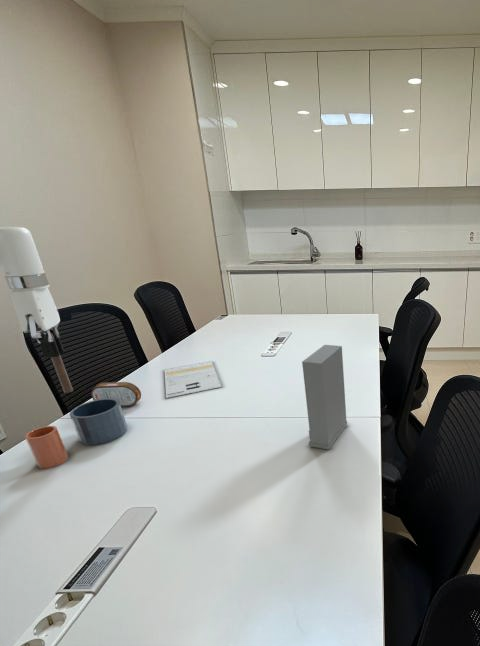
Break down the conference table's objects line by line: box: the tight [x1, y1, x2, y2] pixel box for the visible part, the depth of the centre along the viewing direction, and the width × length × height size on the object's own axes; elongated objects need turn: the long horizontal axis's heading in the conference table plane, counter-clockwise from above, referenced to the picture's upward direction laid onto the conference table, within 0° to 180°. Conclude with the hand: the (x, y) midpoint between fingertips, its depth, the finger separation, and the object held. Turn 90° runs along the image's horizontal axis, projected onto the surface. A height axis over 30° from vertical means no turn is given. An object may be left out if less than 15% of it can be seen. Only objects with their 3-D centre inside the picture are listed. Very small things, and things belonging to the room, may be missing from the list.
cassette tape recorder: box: [301, 344, 348, 451], centre depth 106 cm, size 14×6×25 cm, turn 162°
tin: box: [90, 381, 142, 408], centre depth 130 cm, size 15×3×8 cm, turn 94°
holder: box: [24, 425, 69, 469], centre depth 101 cm, size 6×6×9 cm
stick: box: [45, 333, 74, 394], centre depth 101 cm, size 2×2×16 cm
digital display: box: [164, 361, 222, 399], centre depth 152 cm, size 18×1×30 cm
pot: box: [69, 398, 129, 446], centre depth 113 cm, size 12×12×9 cm
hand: (54, 354), depth 100 cm, fingers closed on stick, 2 cm apart
